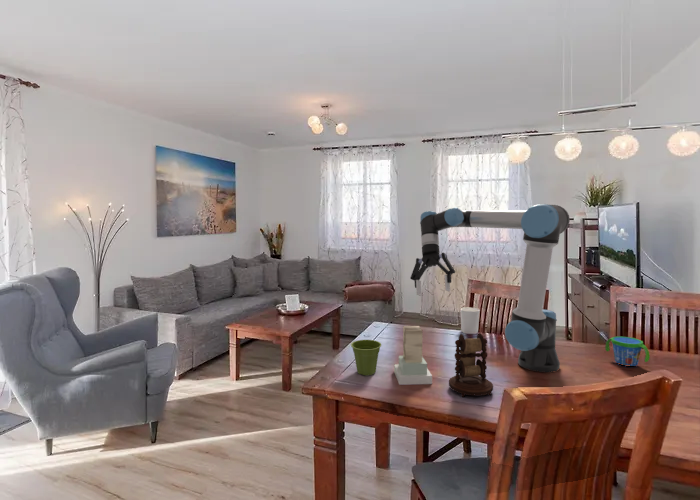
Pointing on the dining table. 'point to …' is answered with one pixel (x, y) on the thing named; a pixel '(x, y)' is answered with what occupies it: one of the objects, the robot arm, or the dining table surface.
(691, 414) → the dining table surface
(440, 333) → the dining table surface
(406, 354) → the maple brick
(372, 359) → the plant pot
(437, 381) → the dining table surface
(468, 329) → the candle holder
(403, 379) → the tower base
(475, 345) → the brown wooden spool stand
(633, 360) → the snack cup
